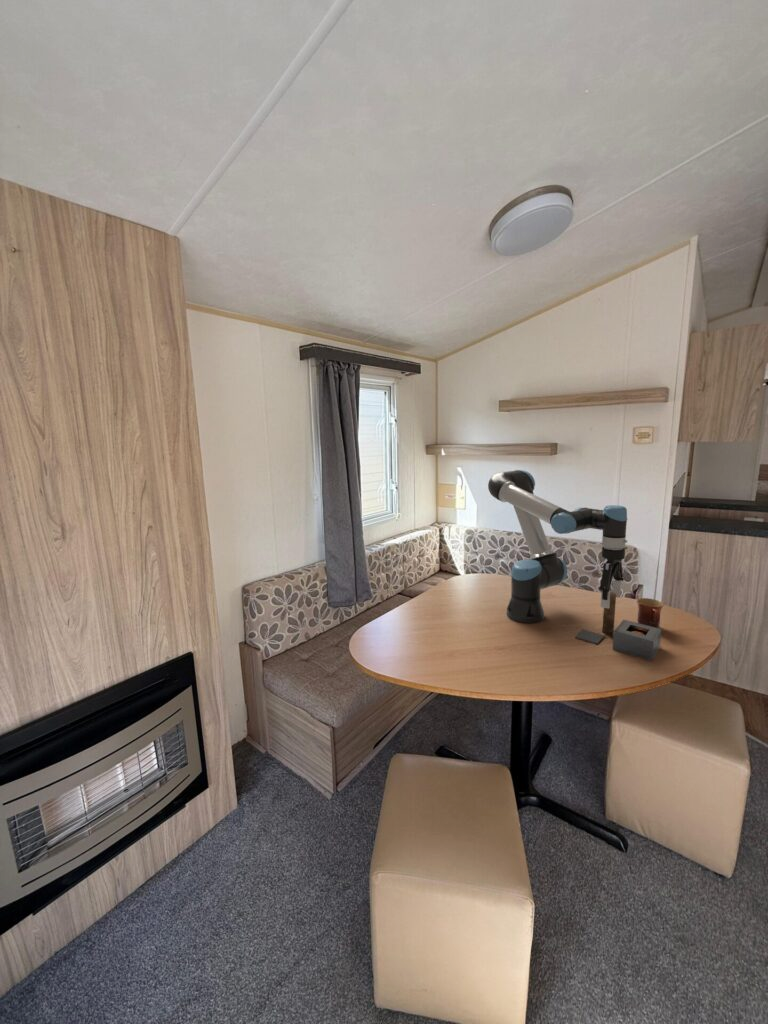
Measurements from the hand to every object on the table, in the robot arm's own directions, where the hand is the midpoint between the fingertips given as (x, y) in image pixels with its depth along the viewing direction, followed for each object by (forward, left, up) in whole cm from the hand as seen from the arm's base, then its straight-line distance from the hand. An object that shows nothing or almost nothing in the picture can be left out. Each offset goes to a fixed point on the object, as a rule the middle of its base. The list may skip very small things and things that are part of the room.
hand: (610, 602), depth 156 cm
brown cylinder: (0, 0, -13) cm, 13 cm away
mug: (+11, +14, -13) cm, 22 cm away
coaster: (-4, -8, -13) cm, 16 cm away
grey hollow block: (+11, -6, -13) cm, 18 cm away
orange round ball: (+11, -6, -10) cm, 16 cm away
